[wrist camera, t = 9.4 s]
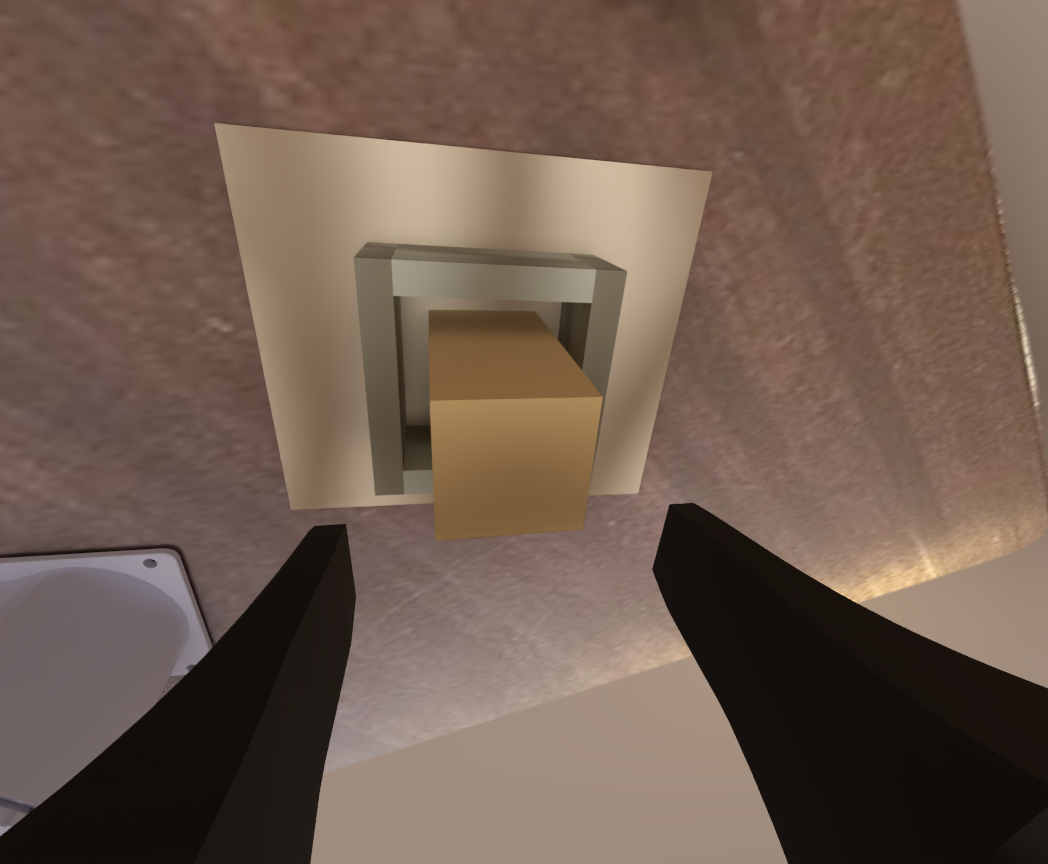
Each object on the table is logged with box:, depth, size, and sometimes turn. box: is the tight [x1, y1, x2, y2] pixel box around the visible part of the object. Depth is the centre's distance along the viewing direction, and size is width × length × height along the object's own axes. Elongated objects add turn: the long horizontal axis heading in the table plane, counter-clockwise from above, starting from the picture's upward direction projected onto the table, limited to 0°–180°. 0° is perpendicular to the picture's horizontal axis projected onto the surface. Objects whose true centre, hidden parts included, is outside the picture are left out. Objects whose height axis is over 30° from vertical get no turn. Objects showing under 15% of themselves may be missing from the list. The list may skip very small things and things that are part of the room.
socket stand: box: [214, 123, 712, 510], centre depth 17 cm, size 16×14×4 cm
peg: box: [428, 310, 603, 541], centre depth 15 cm, size 4×4×8 cm
